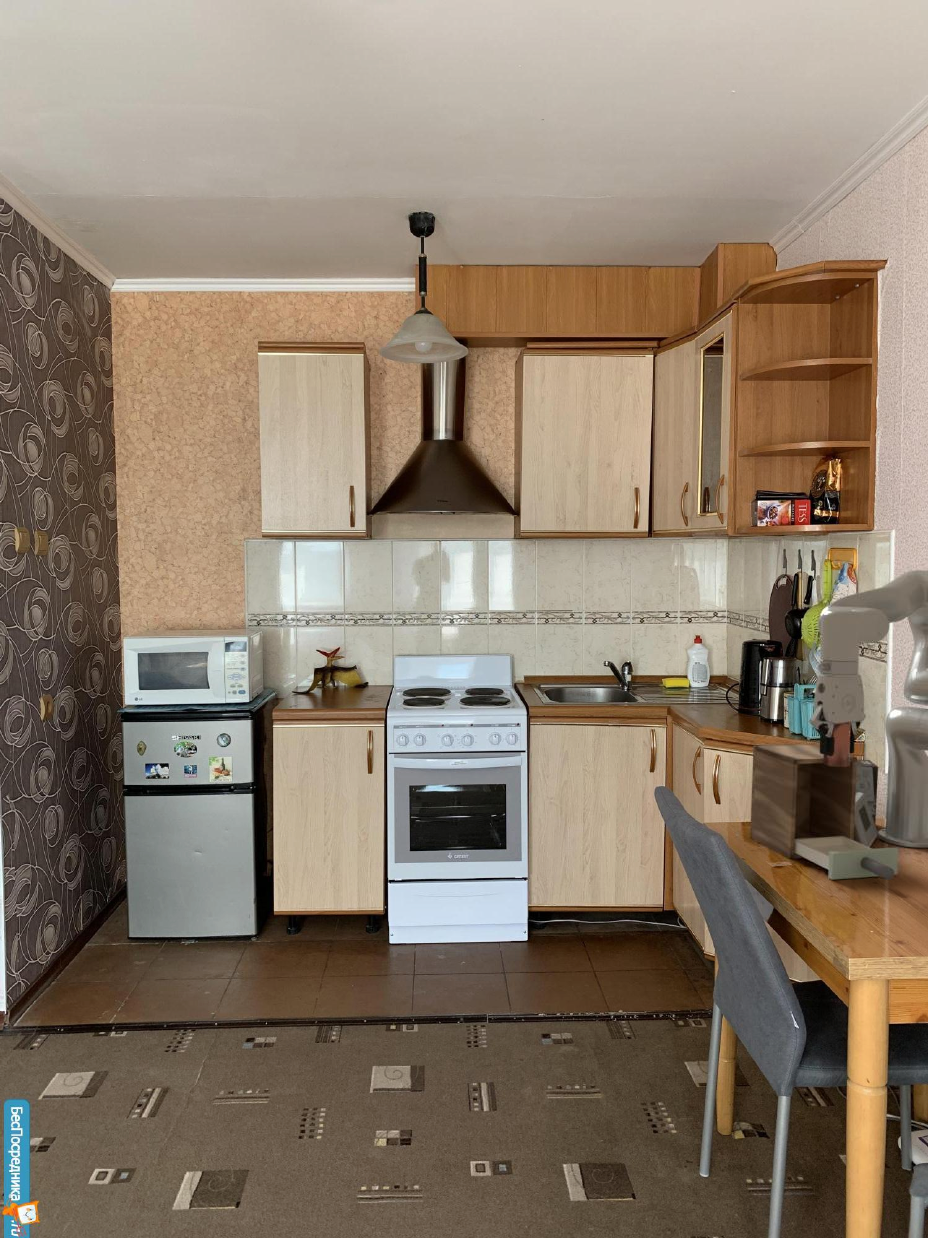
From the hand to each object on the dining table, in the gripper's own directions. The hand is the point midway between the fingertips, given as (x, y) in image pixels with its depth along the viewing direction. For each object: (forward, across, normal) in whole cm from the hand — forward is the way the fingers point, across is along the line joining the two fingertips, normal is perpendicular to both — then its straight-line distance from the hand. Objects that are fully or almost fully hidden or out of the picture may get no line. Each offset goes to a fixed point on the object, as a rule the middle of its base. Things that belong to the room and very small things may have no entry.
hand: (836, 752), depth 196 cm
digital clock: (+25, +19, +10) cm, 33 cm away
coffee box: (+26, +30, +22) cm, 45 cm away
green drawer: (+25, +1, -3) cm, 25 cm away
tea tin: (+2, 0, 0) cm, 2 cm away
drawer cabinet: (+25, +4, +14) cm, 29 cm away
